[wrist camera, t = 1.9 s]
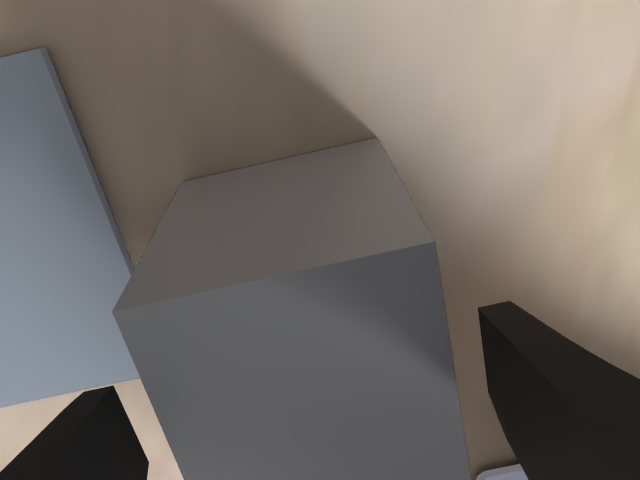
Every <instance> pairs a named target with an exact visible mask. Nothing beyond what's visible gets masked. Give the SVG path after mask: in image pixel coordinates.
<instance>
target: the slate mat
mask: <svg viewBox="0 0 640 480" xmlns="http://www.w3.org/2000/svg"><path fill="white" fill-rule="evenodd" d="M133 272H134V267H133V265H132V262H131V260H130V257H129V255H128V252H127V250H126V247H125V245H124V242H123V240H122V237H121V235H120V232H119V230H118V227H117V225H116V222H115V219H114V217H113V214H112V212H111V209H110V207H109V204H108V202H107V199H106V197H105V194H104V192H103V189H102V187H101V184H100V182H99V179H98V177H97V174H96V172H95V169H94V167H93V164H92V162H91V159H90V157H89V154H88V152H87V149H86V147H85V144H84V141H83V139H82V136H81V134H80V131H79V129H78V126H77V124H76V121H75V119H74V116H73V114H72V111H71V109H70V106H69V104H68V101H67V99H66V96H65V94H64V91H63V89H62V86H61V84H60V81H59V79H58V76H57V74H56V71H55V68H54V66H53V63H52V61H51V58H50V56H49V53H48V51H47V48H46V47H42V48H38V49H34V50H30V51H26V52H21V53H17V54H13V55H9V56H5V57H1V58H0V408H1V407H5V406H10V405H15V404H20V403H24V402H29V401H34V400H38V399H43V398H48V397H53V396H57V395H62V394H67V393H71V392H76V391H81V390H86V389H90V388H95V387H100V386H105V385H109V384H114V383H119V382H123V381H128V380H133V379H138V378H140V376H139V374H138V371H137V369H136V367H135V364H134V362H133V360H132V357H131V355H130V353H129V350H128V348H127V346H126V343H125V341H124V339H123V336H122V334H121V332H120V329H119V327H118V325H117V322H116V320H115V318H114V315H113V313H112V311H113V309H114V307H115V305H116V303H117V302H118V300H119V298H120V296H121V294H122V292H123V290H124V288H125V287H126V285H127V283H128V281H129V279H130V277H131V275H132V274H133Z"/></svg>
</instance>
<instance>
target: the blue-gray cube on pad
mask: <svg viewBox="0 0 640 480" xmlns="http://www.w3.org/2000/svg"><path fill="white" fill-rule="evenodd" d="M112 313H113V315H114V318H115V320H116V322H117V325H118V327H119V329H120V332H121V334H122V336H123V339H124V341H125V343H126V346H127V348H128V350H129V353H130V355H131V357H132V360H133V362H134V364H135V367H136V369H137V371H138V374H139V376H140V378H141V381H142V383H143V385H144V387H145V390H146V392H147V394H148V397H149V399H150V401H151V404H152V406H153V408H154V411H155V413H156V415H157V418H158V420H159V422H160V425H161V427H162V429H163V432H164V434H165V436H166V439H167V441H168V443H169V446H170V448H171V450H172V453H173V455H174V457H175V460H176V462H177V464H178V467H179V469H180V471H181V474H182V476H183V478H184V480H471V474H470V468H469V461H468V455H467V448H466V442H465V435H464V429H463V422H462V415H461V409H460V402H459V396H458V389H457V383H456V376H455V370H454V363H453V356H452V350H451V343H450V337H449V330H448V324H447V317H446V311H445V304H444V297H443V291H442V284H441V278H440V271H439V265H438V258H437V252H436V245H435V241H434V239H433V237H432V235H431V233H430V231H429V230H428V228H427V226H426V224H425V222H424V221H423V219H422V217H421V215H420V213H419V211H418V210H417V208H416V206H415V204H414V202H413V200H412V199H411V197H410V195H409V193H408V191H407V189H406V188H405V186H404V184H403V182H402V180H401V178H400V177H399V175H398V173H397V171H396V169H395V168H394V166H393V164H392V162H391V160H390V158H389V157H388V155H387V153H386V151H385V149H384V147H383V146H382V144H381V142H380V140H379V138H378V137H377V138H372V139H368V140H363V141H359V142H355V143H350V144H346V145H341V146H337V147H333V148H328V149H324V150H320V151H315V152H311V153H306V154H302V155H298V156H293V157H289V158H284V159H280V160H276V161H271V162H267V163H262V164H258V165H254V166H249V167H245V168H240V169H236V170H232V171H227V172H223V173H218V174H214V175H210V176H205V177H201V178H197V179H192V180H188V181H183V182H181V184H180V186H179V188H178V190H177V192H176V194H175V195H174V197H173V199H172V201H171V203H170V205H169V207H168V208H167V210H166V212H165V214H164V216H163V218H162V220H161V221H160V223H159V225H158V227H157V229H156V231H155V233H154V234H153V236H152V238H151V240H150V242H149V244H148V246H147V248H146V249H145V251H144V253H143V255H142V257H141V259H140V261H139V262H138V264H137V266H136V268H135V270H134V272H133V274H132V275H131V277H130V279H129V281H128V283H127V285H126V287H125V288H124V290H123V292H122V294H121V296H120V298H119V300H118V302H117V303H116V305H115V307H114V309H113V311H112Z"/></svg>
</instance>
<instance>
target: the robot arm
mask: <svg viewBox="0 0 640 480" xmlns="http://www.w3.org/2000/svg"><path fill="white" fill-rule="evenodd" d="M478 312H479V320H480V328H481V336H482V345H483V353H484V361H485V369H486V377H487V385H488V392H489V395H490V398H491V400H492V403H493V406H494V408H495V411H496V413H497V416H498V419H499V421H500V423H501V426H502V428H503V431H504V433H505V436H506V438H507V440H508V442H509V444H510V446H511V448H512V450H513V452H514V454H515V456H516V457H517V459H518V461H519V463H520V464H517V465H512V466H506V467H501V468H496V469H491V470H487V471H484V472H482V473H481V474H479V475H478V477H477V478H476V480H640V379H638V378H636V377H634V376H632V375H630V374H629V373H627V372H625V371H623V370H621V369H619V368H617V367H615V366H613V365H612V364H610V363H608V362H606V361H604V360H603V359H601V358H599V357H597V356H596V355H594V354H592V353H590V352H589V351H587V350H585V349H584V348H582V347H580V346H579V345H577V344H575V343H574V342H572V341H571V340H569V339H567V338H566V337H564V336H563V335H561V334H560V333H558V332H556V331H555V330H553V329H552V328H550V327H549V326H547V325H546V324H544V323H543V322H541V321H540V320H538V319H537V318H535V317H534V316H532V315H531V314H529V313H527V312H526V311H524V310H523V309H521V308H520V307H518V306H517V305H515V304H514V303H512V302H511V301H508V302H503V303H498V304H494V305H489V306H484V307H479V308H478ZM148 465H149V462H148V460H147V457H146V455H145V453H144V451H143V449H142V446H141V444H140V442H139V440H138V438H137V436H136V433H135V431H134V429H133V427H132V425H131V423H130V420H129V418H128V416H127V414H126V412H125V410H124V407H123V405H122V403H121V401H120V399H119V396H118V394H117V392H116V390H115V388H114V386H109V387H104V388H100V389H95V390H90V391H85V392H83V393H82V394H81V395H79V396H78V397H77V398H76V399H75V400H74V401H73V402H71V403H70V404H69V405H68V406H67V407H66V408H65V409H64V410H63V411H62V412H61V413H60V414H59V415H58V416H57V417H56V418H55V419H54V420H53V421H52V422H51V423H50V424H49V425H48V426H47V427H46V428H45V429H44V430H43V431H42V432H41V433H40V434H39V435H38V436H37V437H36V438H35V439H34V440H33V441H31V442H30V443H29V444H28V445H27V446H26V447H25V448H24V449H23V450H22V451H21V452H20V453H19V454H18V455H17V456H16V457H15V458H14V459H13V460H12V461H11V462H10V463H9V464H8V465H7V466H6V467H5V468H4V469H3V470H2V471H1V472H0V480H147V474H148Z"/></svg>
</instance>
